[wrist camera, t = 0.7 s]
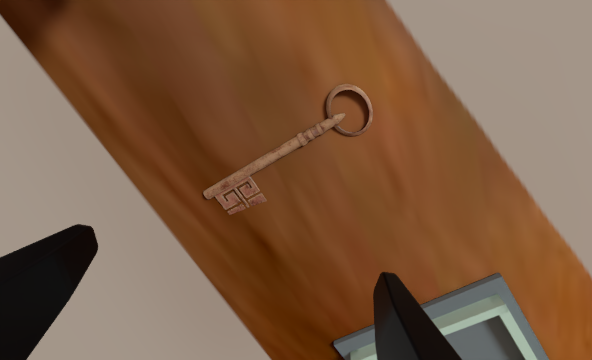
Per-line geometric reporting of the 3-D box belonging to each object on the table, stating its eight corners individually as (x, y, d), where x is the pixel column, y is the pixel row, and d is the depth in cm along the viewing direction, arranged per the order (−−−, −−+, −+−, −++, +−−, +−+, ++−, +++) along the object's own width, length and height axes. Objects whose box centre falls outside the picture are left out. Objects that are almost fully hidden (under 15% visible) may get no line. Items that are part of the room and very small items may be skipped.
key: (235, 225, 27) (391, 142, 23) (232, 231, 26) (394, 146, 22) (193, 174, 25) (355, 74, 21) (189, 178, 24) (357, 75, 20)
